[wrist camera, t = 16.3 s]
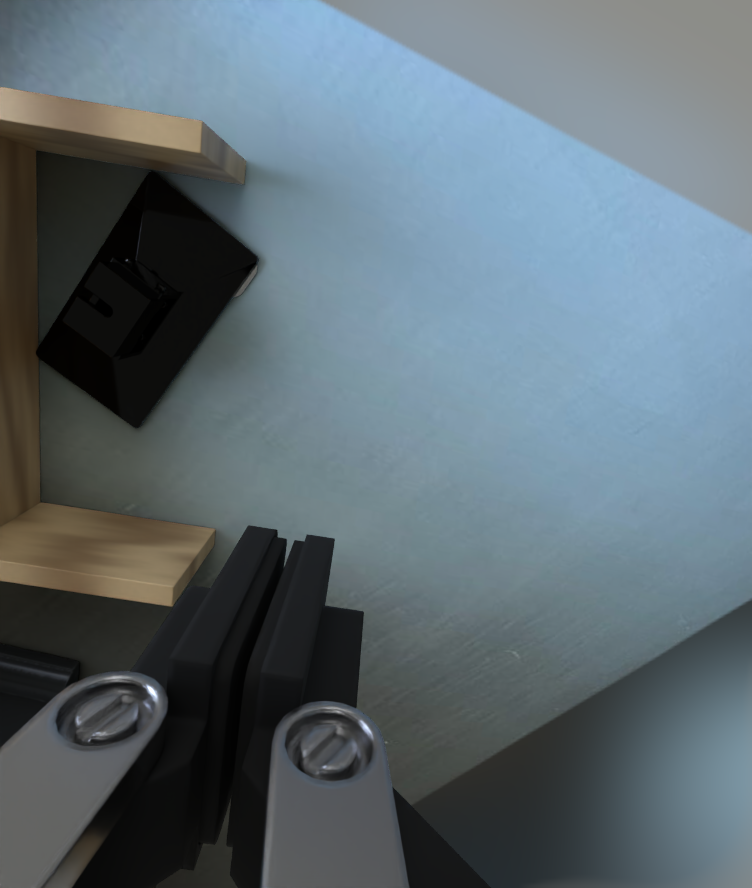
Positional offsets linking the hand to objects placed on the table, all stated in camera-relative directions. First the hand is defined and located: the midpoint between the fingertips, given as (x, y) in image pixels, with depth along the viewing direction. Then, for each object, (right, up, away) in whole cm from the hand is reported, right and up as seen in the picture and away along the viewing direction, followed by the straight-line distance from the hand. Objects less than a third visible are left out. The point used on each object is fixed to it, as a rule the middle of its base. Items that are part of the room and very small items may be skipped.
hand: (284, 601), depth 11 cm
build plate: (-11, +11, +20) cm, 26 cm away
